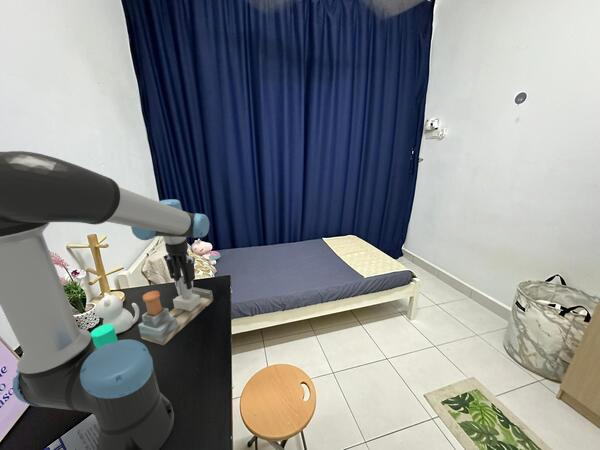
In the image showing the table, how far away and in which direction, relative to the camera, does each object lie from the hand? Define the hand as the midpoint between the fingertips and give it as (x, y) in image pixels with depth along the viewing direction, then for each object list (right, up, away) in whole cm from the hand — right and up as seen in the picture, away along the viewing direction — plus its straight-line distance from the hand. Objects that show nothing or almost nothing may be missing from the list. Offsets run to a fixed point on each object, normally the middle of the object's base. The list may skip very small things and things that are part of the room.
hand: (185, 294), depth 100 cm
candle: (-16, -15, -19) cm, 29 cm away
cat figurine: (-21, -11, -6) cm, 25 cm away
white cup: (-8, -3, +16) cm, 18 cm away
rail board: (-1, -9, -1) cm, 9 cm away
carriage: (0, -5, +2) cm, 5 cm away
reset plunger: (-5, -2, -13) cm, 14 cm away
